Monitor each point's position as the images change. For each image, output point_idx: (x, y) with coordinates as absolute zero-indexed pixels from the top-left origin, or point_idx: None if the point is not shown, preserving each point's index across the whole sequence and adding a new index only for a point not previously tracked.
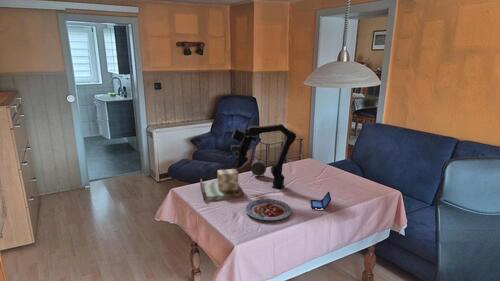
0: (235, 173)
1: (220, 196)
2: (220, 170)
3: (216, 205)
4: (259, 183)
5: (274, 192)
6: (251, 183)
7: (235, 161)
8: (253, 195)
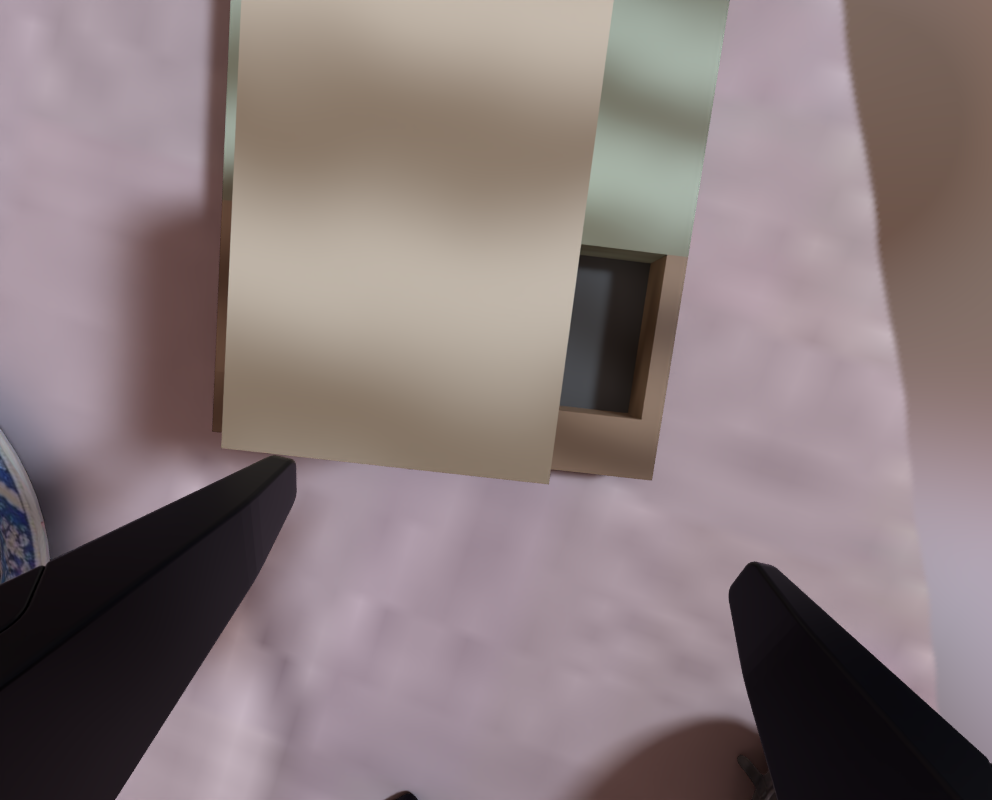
0: (228, 378)
1: (233, 118)
2: (560, 32)
3: (104, 44)
4: (561, 708)
5: (277, 762)
6: (592, 626)
7: (795, 617)
8: None
